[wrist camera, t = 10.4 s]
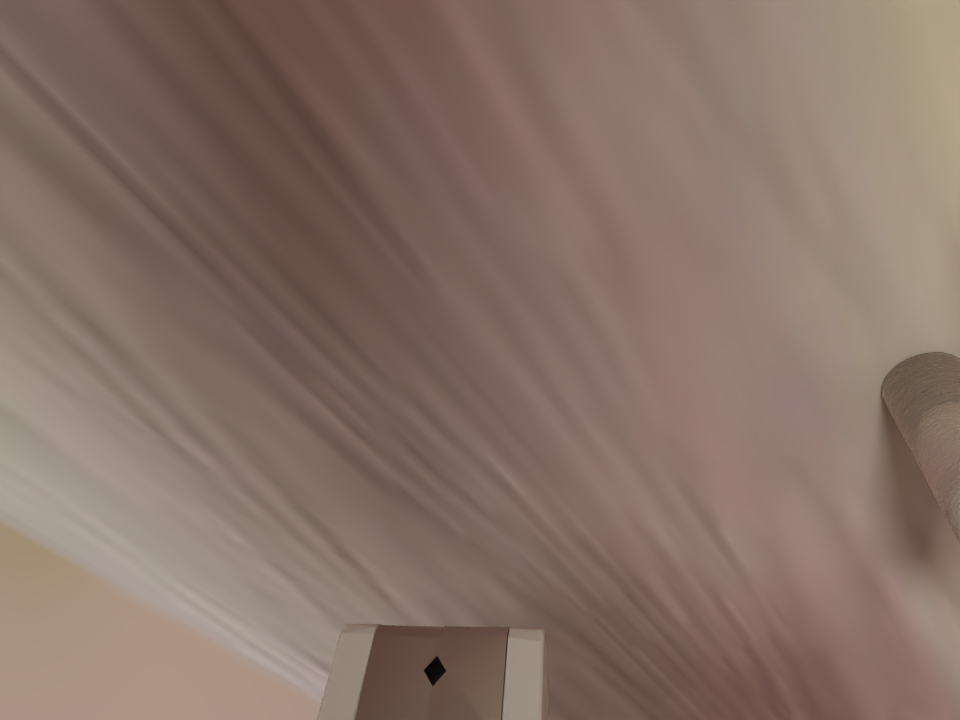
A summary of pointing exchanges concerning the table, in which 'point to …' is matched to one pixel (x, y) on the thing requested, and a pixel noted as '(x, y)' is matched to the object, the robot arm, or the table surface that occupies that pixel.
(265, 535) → the table surface
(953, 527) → the post
